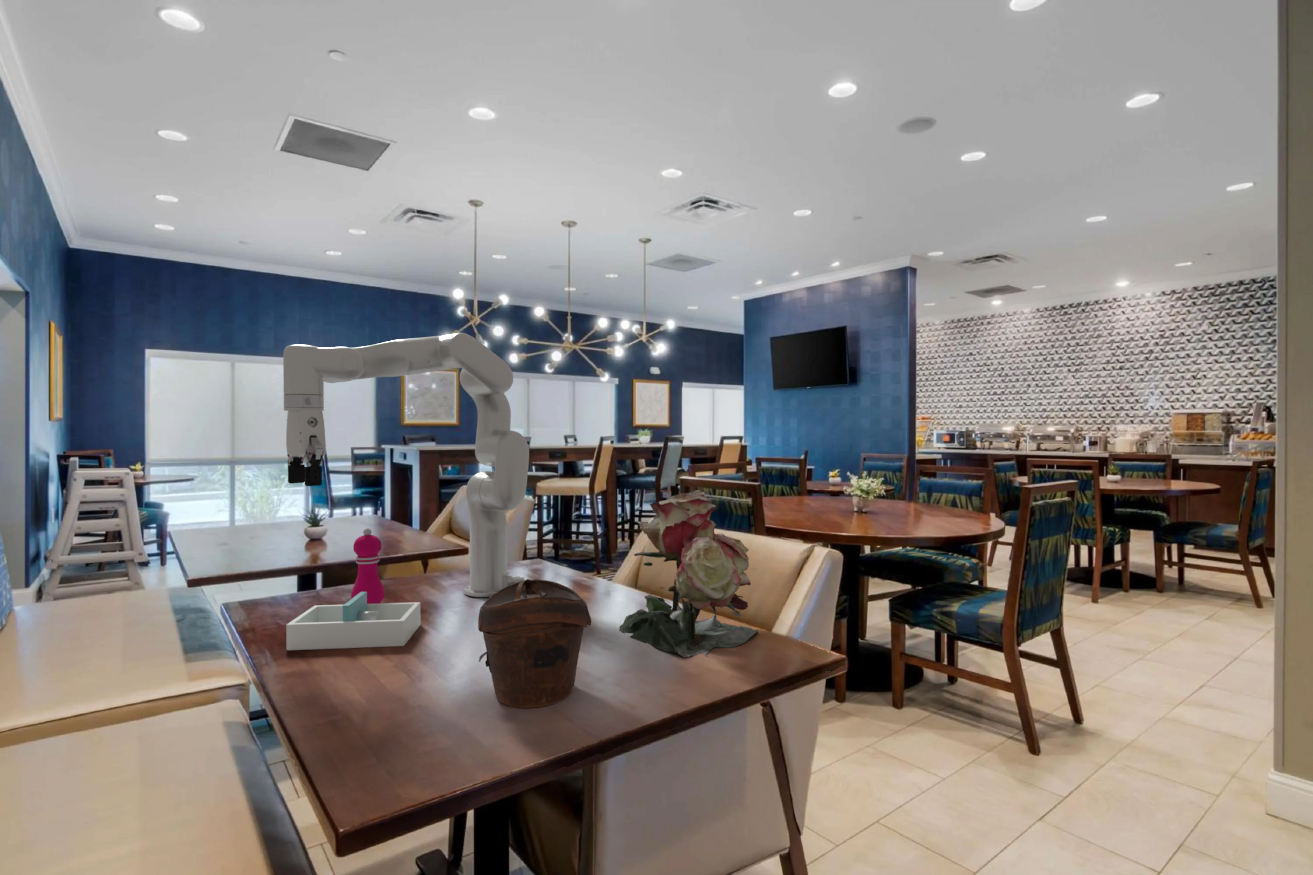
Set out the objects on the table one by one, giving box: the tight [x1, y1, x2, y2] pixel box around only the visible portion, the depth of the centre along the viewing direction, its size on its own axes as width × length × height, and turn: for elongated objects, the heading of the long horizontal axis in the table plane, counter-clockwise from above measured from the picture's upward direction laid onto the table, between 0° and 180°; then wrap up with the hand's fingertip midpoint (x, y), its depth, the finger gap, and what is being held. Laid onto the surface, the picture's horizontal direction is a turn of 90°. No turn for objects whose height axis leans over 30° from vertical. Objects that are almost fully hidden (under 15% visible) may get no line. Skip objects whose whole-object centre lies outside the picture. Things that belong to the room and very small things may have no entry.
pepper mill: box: [350, 527, 386, 604], centre depth 154 cm, size 7×7×20 cm
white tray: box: [285, 601, 421, 651], centre depth 137 cm, size 22×14×5 cm, turn 97°
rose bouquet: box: [607, 489, 759, 658], centre depth 140 cm, size 26×29×30 cm
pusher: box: [342, 592, 378, 621], centre depth 138 cm, size 5×11×7 cm, turn 7°
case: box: [477, 578, 592, 709], centre depth 109 cm, size 18×20×18 cm
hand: (304, 484), depth 141 cm, fingers open, 9 cm apart
